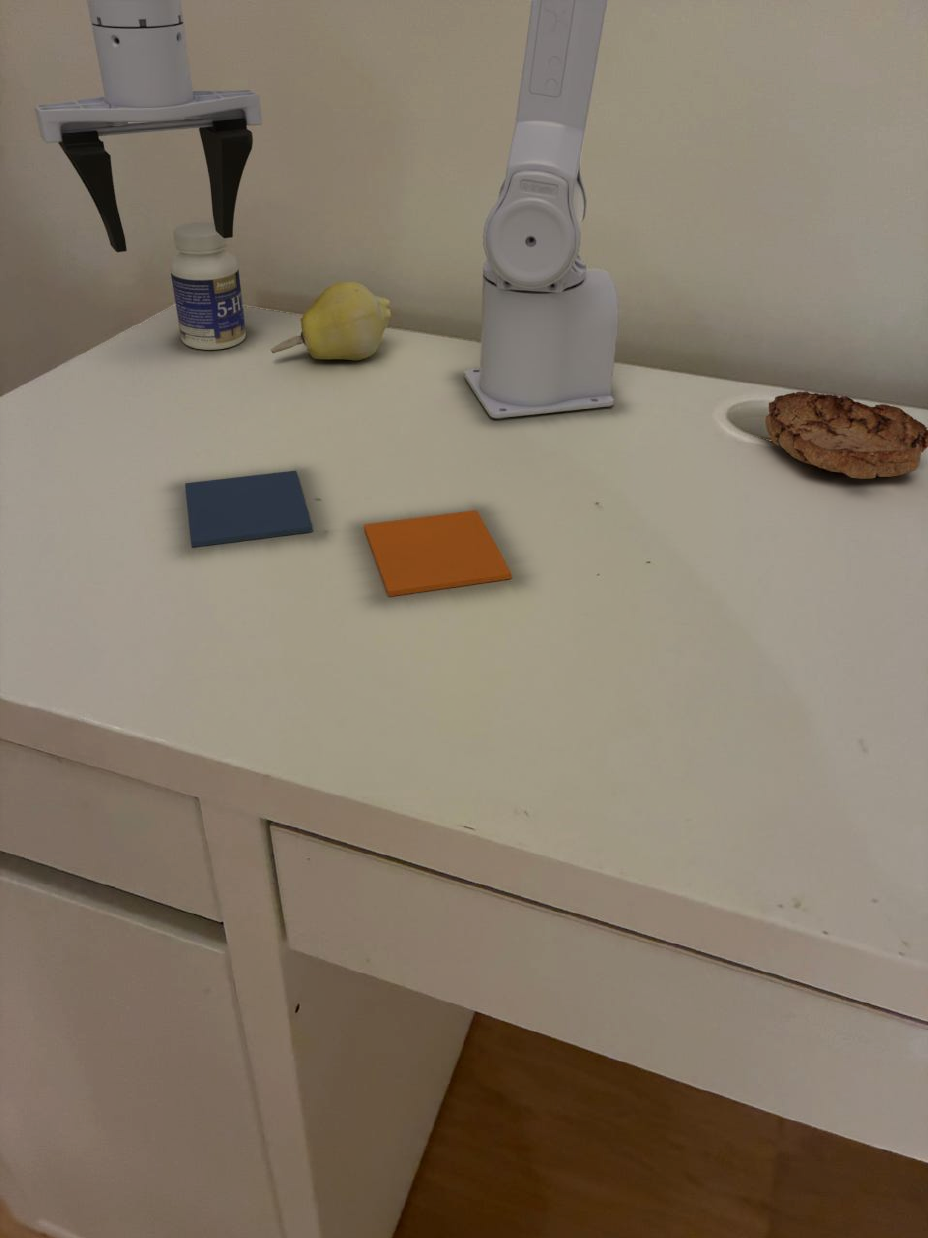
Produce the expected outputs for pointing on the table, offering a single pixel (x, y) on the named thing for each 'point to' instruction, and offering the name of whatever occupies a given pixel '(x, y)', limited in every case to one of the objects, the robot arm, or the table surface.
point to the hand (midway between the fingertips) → (172, 240)
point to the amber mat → (435, 553)
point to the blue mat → (246, 508)
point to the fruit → (342, 323)
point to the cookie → (846, 434)
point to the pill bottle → (206, 288)
